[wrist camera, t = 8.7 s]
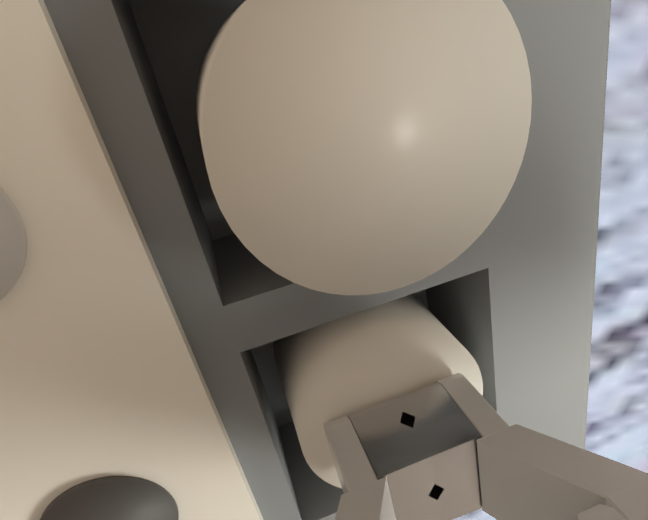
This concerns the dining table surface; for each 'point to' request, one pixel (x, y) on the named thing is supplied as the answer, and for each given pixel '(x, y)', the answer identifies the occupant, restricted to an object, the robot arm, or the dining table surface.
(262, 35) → the button
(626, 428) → the dining table surface
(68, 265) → the button board
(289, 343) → the button
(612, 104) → the dining table surface
